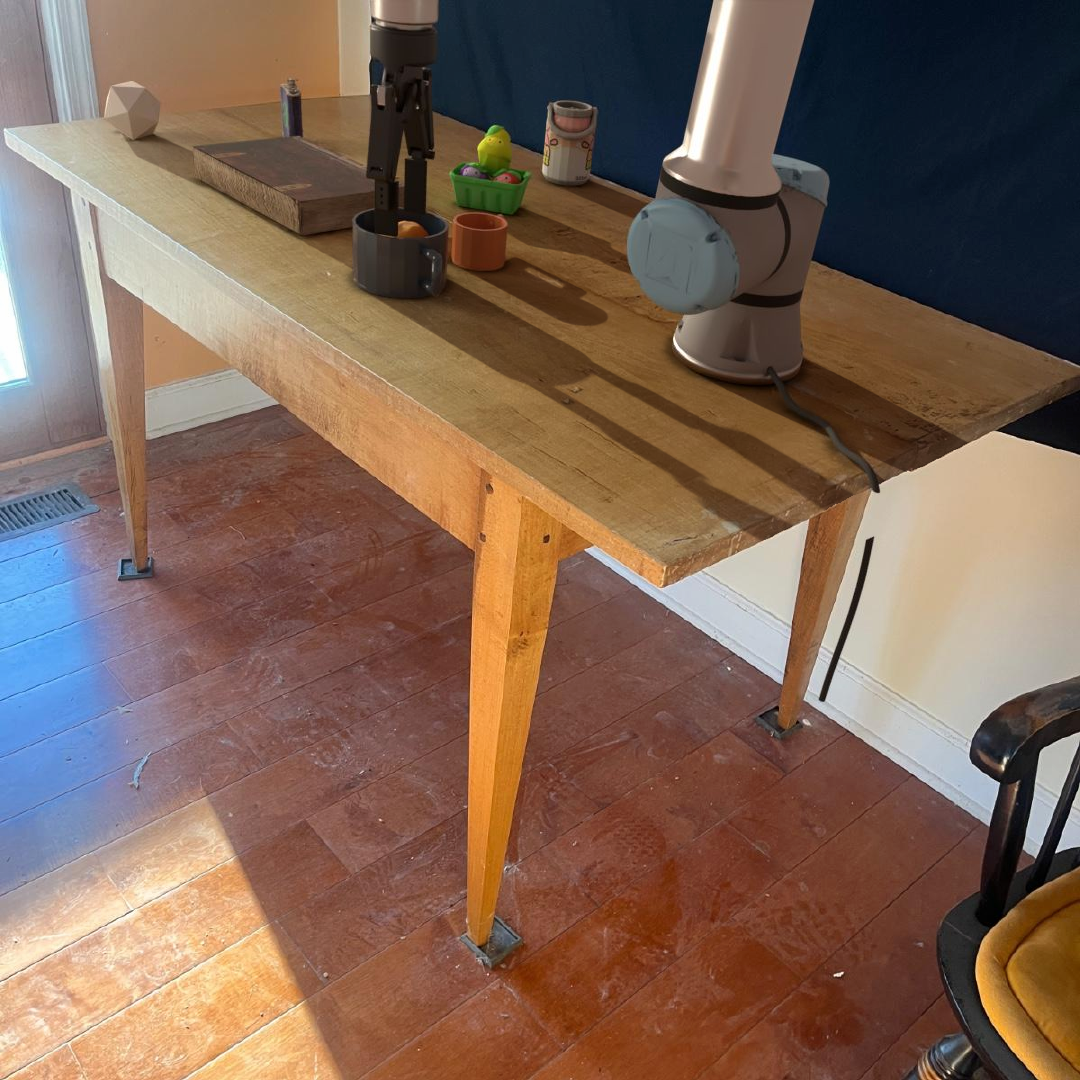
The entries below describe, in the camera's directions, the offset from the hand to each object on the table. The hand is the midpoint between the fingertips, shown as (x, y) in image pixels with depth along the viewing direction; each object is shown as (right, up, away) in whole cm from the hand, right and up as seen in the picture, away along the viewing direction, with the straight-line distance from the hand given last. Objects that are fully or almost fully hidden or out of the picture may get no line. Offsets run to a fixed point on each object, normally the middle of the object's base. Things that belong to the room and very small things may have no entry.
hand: (401, 222), depth 128 cm
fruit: (-1, -6, +4) cm, 7 cm away
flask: (-25, +29, +50) cm, 63 cm away
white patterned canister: (+22, +22, +48) cm, 57 cm away
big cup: (0, -7, +3) cm, 8 cm away
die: (-51, +29, +46) cm, 74 cm away
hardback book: (-19, +12, +27) cm, 35 cm away
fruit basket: (+9, +13, +33) cm, 37 cm away
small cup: (+9, -1, +14) cm, 17 cm away
